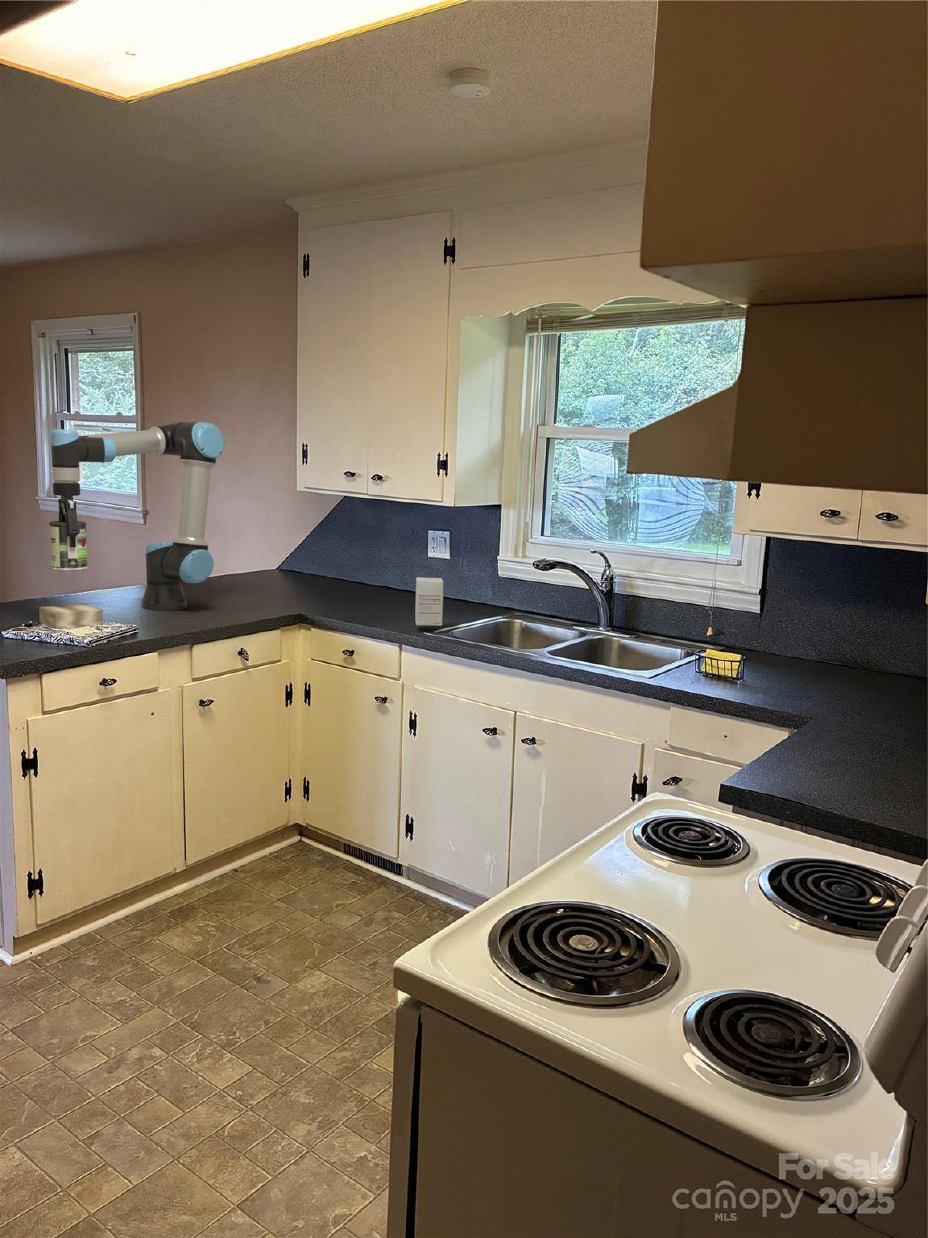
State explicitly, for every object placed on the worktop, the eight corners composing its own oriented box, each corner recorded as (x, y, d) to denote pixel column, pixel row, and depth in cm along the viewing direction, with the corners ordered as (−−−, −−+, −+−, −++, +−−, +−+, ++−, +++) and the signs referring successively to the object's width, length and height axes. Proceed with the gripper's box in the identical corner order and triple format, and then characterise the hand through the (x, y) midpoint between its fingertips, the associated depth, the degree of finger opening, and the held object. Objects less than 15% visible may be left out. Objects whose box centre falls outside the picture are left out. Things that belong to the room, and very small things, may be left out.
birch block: (86, 622, 297) (85, 603, 296) (103, 629, 286) (102, 609, 285) (40, 626, 287) (39, 607, 286) (56, 633, 277) (55, 613, 276)
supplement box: (414, 620, 319) (415, 577, 316) (440, 621, 320) (442, 577, 317) (415, 625, 310) (416, 580, 307) (442, 626, 311) (444, 581, 308)
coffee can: (94, 567, 288) (93, 521, 285) (74, 571, 278) (72, 523, 275) (64, 565, 290) (62, 519, 287) (43, 569, 280) (41, 522, 277)
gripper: (46, 480, 286) (49, 552, 290) (60, 483, 268) (63, 560, 272) (72, 480, 291) (74, 551, 294) (87, 483, 272) (90, 560, 276)
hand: (69, 556), depth 283 cm, fingers closed on coffee can, 10 cm apart
